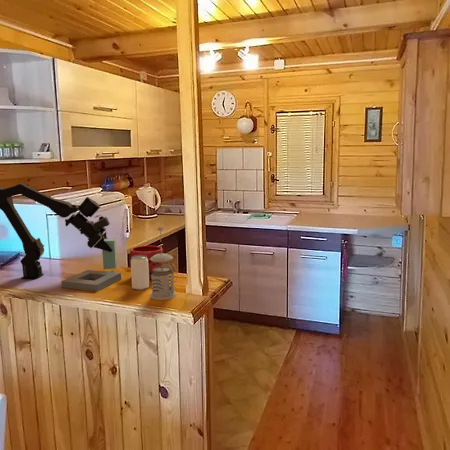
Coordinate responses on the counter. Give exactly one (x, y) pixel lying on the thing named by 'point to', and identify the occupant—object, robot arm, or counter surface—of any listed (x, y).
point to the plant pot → (149, 252)
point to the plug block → (110, 255)
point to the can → (139, 272)
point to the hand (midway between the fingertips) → (112, 249)
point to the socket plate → (85, 283)
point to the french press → (162, 277)
